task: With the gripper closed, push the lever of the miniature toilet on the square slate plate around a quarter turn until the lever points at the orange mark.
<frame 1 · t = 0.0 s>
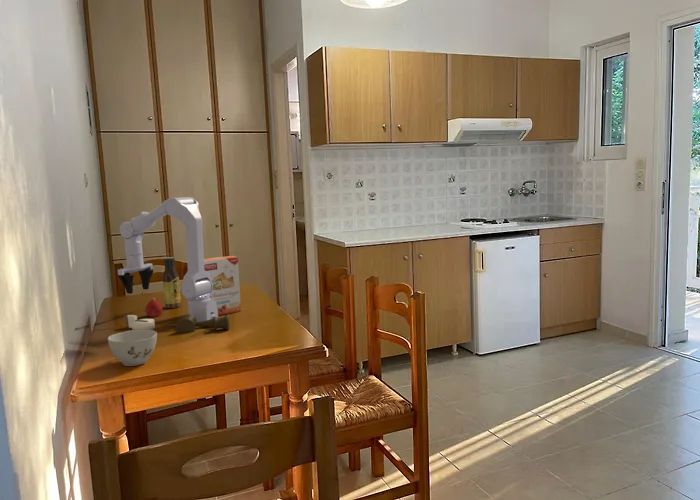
hand: (137, 291, 201), 10 cm above the table, tool pointing down, fingers open, 7 cm apart
onion: (154, 319, 200), on the table
kendama: (199, 333, 180), on the table
sauce bottle: (173, 307, 219), on the table
plate: (144, 332, 182), on the table
miniature toilet: (139, 322, 182), point 3 cm above the table, hinge at 0.0°, touching plate
cracker box: (221, 314, 204), on the table
white floral bowl: (134, 362, 152), on the table
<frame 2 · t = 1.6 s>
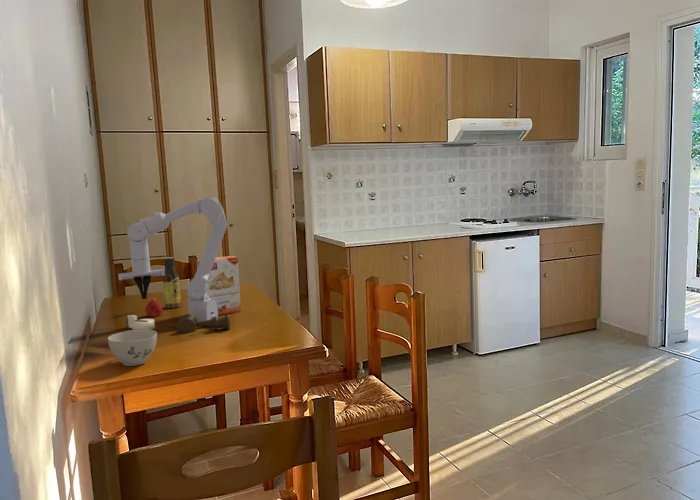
hand: (144, 298, 186), 10 cm above the table, tool pointing down, fingers closed
nothing on the table moved.
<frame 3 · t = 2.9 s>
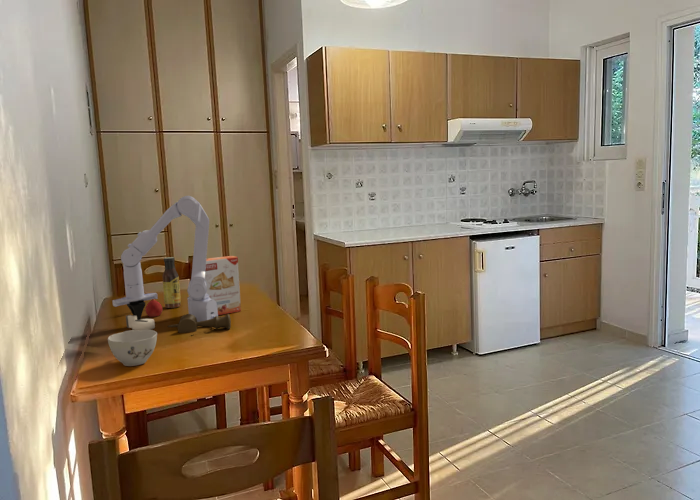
hand: (137, 323, 186), 2 cm above the table, tool pointing down, fingers closed, pressing on miniature toilet
miniature toilet: (139, 322, 182), point 3 cm above the table, hinge at 0.0°, touching gripper, plate
everything else where it was.
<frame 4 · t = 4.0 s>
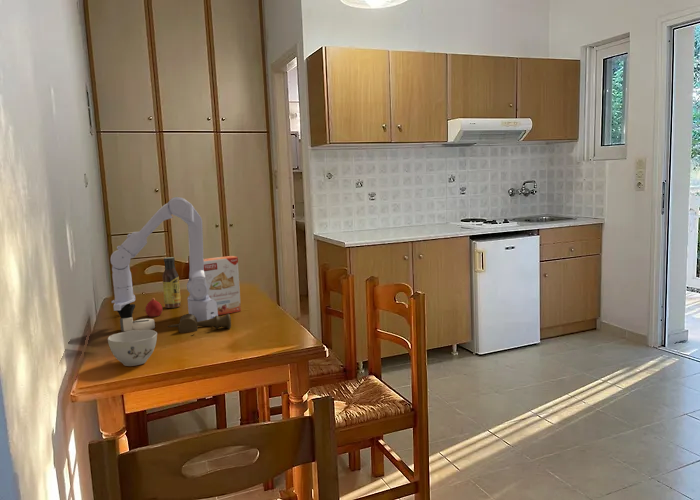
hand: (127, 326, 182), 2 cm above the table, tool pointing down, fingers closed, pressing on miniature toilet
miniature toilet: (137, 323, 181), point 3 cm above the table, hinge at 39.9°, touching gripper
everything else where it was.
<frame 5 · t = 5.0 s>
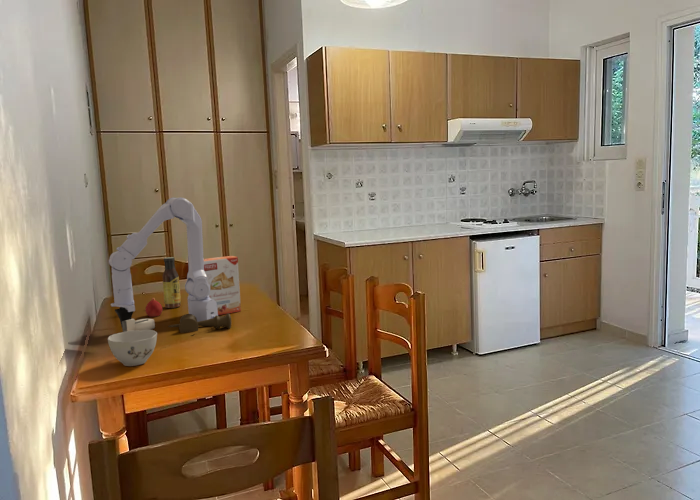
hand: (126, 329, 178), 2 cm above the table, tool pointing down, fingers closed, pressing on miniature toilet
miniature toilet: (138, 323, 180), point 3 cm above the table, hinge at 76.6°, touching gripper, plate
everything else where it was.
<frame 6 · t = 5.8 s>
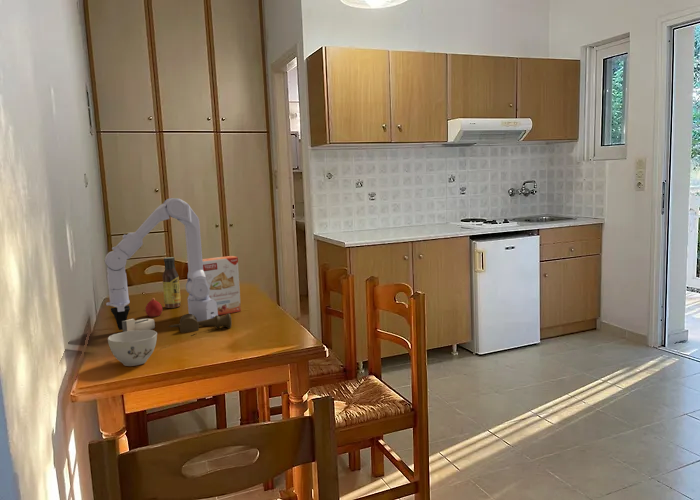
hand: (122, 329, 179), 2 cm above the table, tool pointing down, fingers closed
miniature toilet: (138, 323, 180), point 3 cm above the table, hinge at 76.5°, touching plate
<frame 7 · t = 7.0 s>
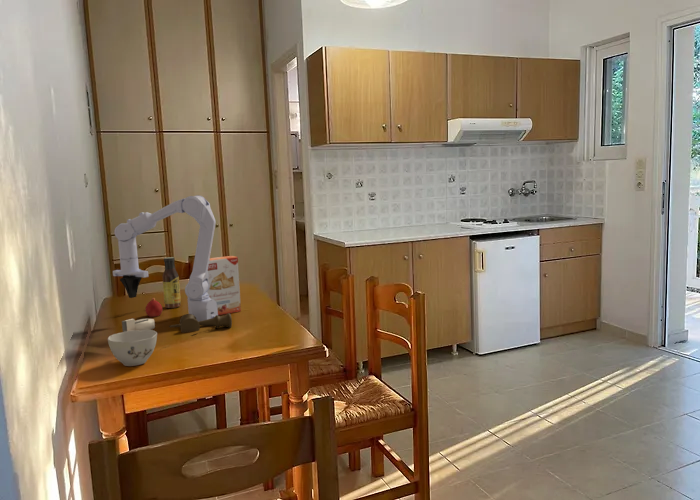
hand: (132, 297, 189), 10 cm above the table, tool pointing down, fingers closed
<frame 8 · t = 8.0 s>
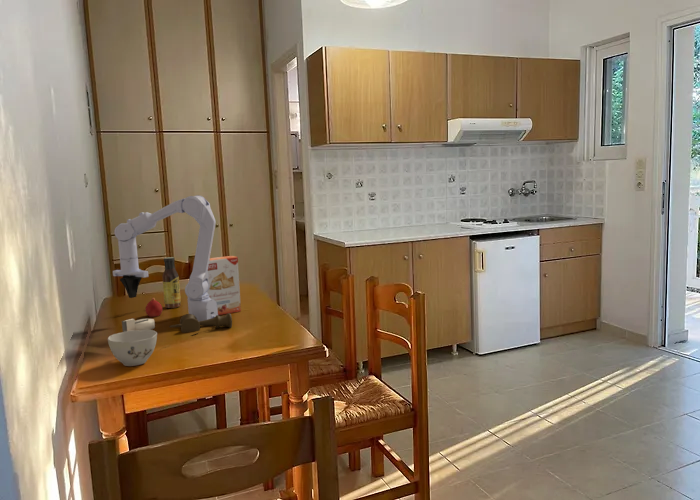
hand: (132, 297, 189), 10 cm above the table, tool pointing down, fingers closed
at the end: miniature toilet at +76° (first picture: +0°) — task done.
